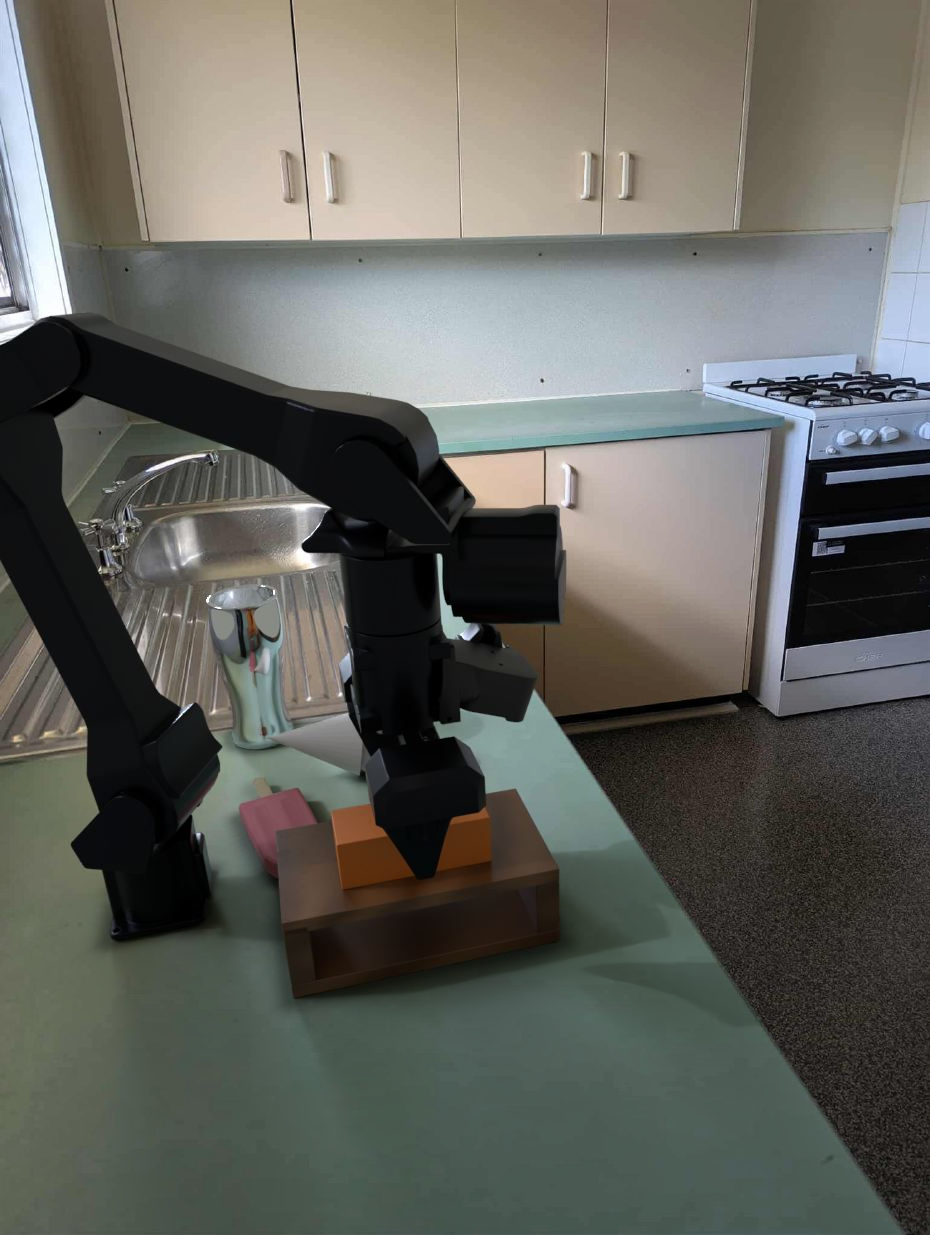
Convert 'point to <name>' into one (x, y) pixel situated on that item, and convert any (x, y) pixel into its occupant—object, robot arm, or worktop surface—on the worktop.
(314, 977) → the shelf
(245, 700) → the beer glass
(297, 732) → the ice cream cone
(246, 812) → the popsicle
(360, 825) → the orange rectangular block
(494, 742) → the worktop surface
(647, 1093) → the worktop surface
